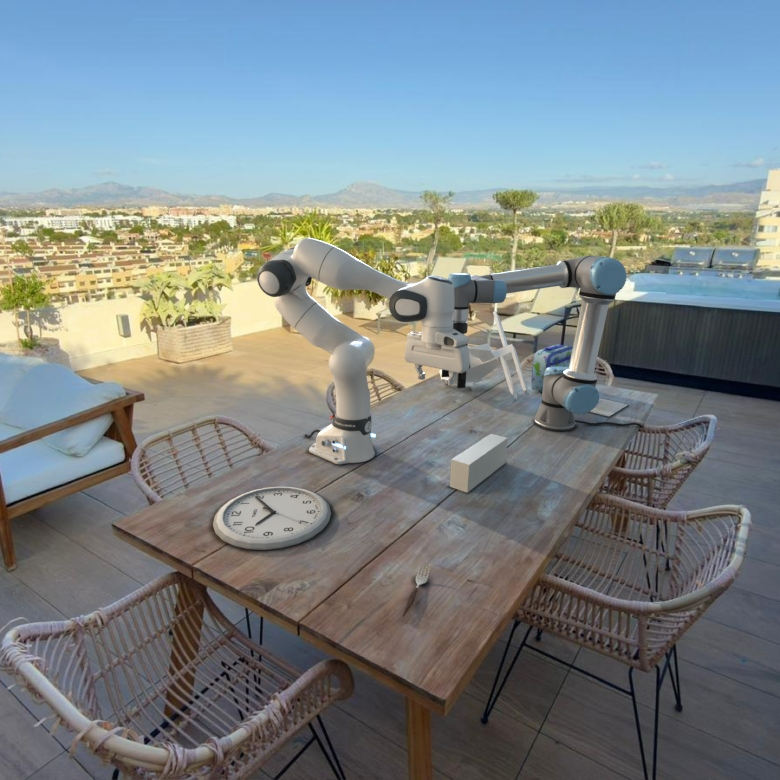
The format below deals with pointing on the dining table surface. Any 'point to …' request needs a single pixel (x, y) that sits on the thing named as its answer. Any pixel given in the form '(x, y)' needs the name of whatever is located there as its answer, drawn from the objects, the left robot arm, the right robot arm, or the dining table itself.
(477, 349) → the white plastic object
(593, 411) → the invitation card
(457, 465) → the bar
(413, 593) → the fork
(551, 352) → the lunch box
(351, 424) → the left robot arm
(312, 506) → the wall clock
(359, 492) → the dining table surface
